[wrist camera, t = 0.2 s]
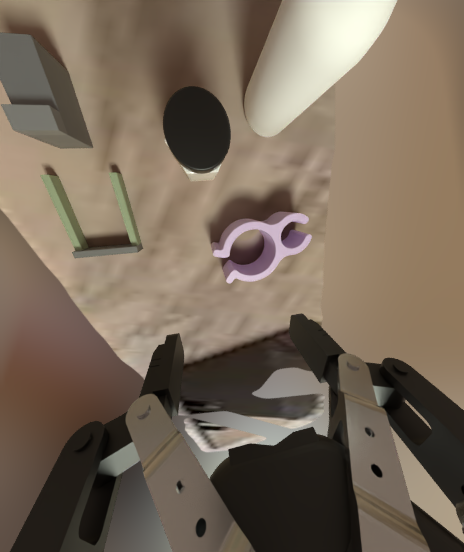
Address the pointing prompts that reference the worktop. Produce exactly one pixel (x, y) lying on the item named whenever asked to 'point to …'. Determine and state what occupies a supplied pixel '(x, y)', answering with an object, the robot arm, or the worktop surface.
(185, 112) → the jar
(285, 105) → the alcohol
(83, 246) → the deck socket
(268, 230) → the clip
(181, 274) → the worktop surface
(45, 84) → the upright grey block
